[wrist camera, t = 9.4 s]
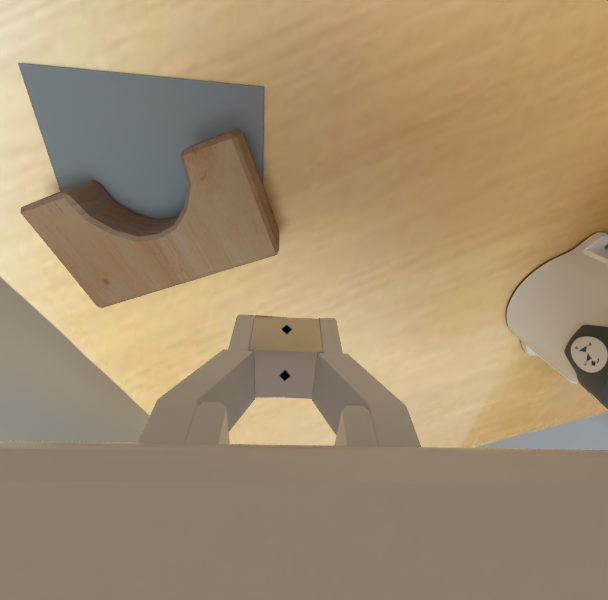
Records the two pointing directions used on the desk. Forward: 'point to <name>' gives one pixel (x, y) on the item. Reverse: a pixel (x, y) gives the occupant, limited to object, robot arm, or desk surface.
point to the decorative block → (162, 227)
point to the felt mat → (136, 130)
